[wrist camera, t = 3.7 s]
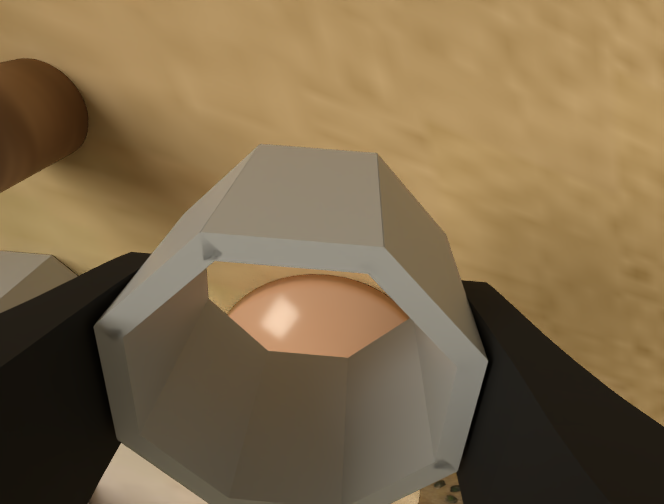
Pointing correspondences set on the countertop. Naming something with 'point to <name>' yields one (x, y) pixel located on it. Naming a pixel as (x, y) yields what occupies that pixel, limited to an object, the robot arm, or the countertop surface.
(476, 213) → the countertop surface
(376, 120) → the countertop surface
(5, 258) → the grey sleeve
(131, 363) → the grey sleeve
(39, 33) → the countertop surface
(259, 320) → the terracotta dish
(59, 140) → the walnut peg
